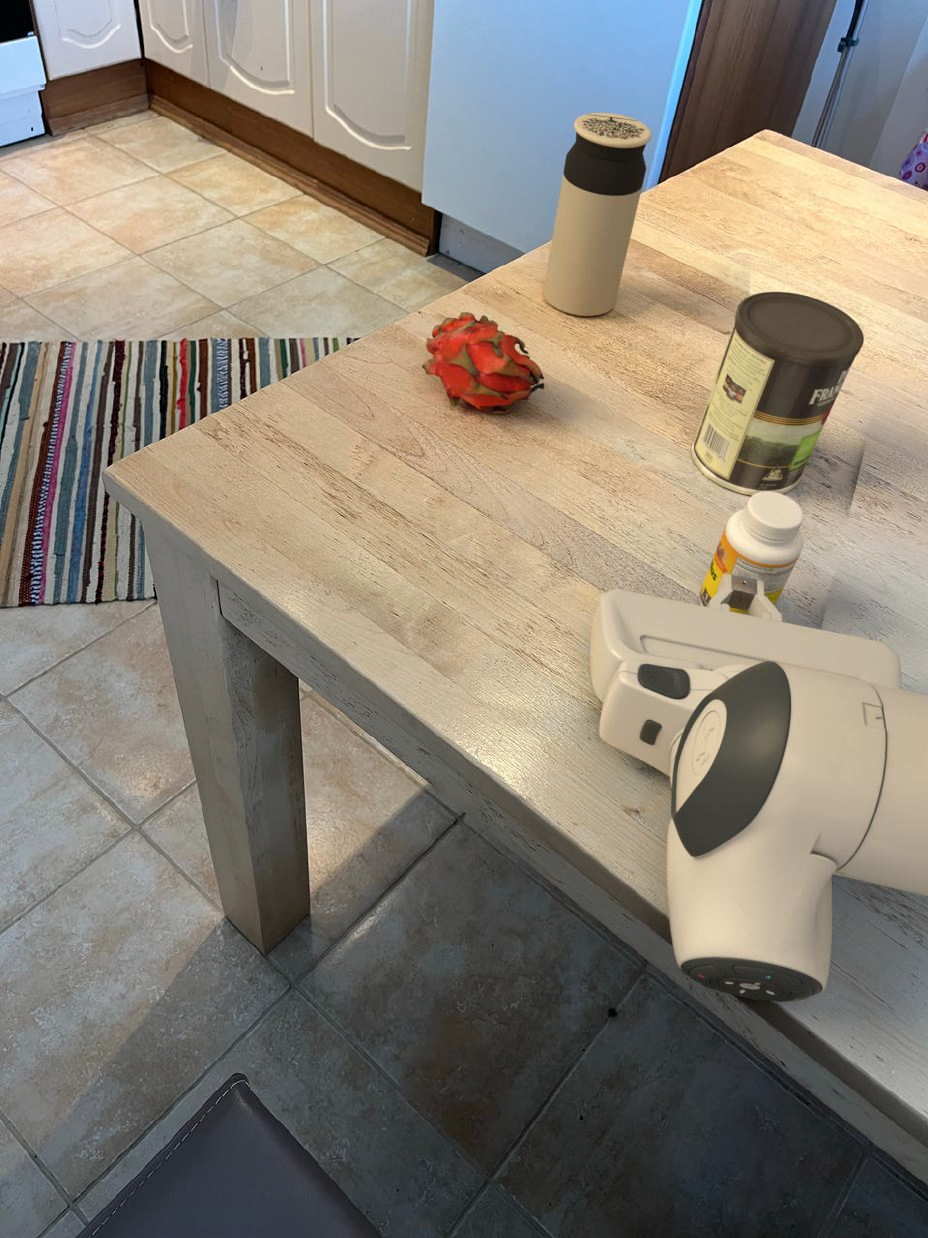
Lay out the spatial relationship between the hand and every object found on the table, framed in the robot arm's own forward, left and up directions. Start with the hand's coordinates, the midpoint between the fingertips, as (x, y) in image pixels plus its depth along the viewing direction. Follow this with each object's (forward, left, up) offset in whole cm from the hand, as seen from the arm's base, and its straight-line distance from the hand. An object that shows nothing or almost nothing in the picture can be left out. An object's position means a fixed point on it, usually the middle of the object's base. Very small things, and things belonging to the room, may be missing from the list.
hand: (740, 582), depth 68 cm
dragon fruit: (+28, -18, -5) cm, 34 cm away
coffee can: (+3, -22, -5) cm, 23 cm away
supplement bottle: (0, -3, -5) cm, 6 cm away
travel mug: (+26, -41, -5) cm, 49 cm away
